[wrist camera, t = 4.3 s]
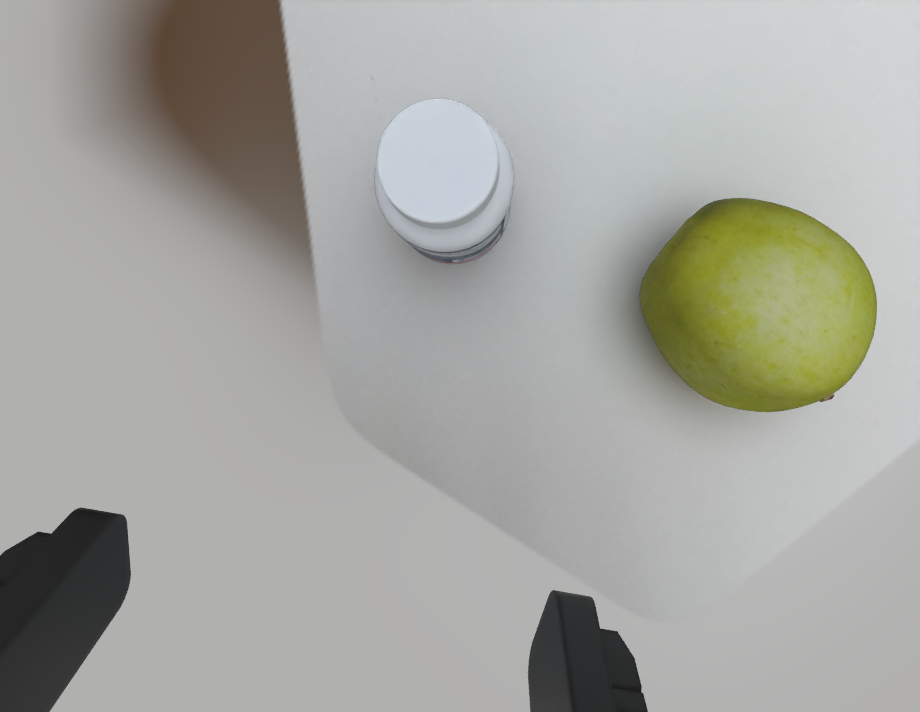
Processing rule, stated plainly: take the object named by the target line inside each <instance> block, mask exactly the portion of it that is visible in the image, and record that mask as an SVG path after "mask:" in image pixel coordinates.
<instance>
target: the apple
mask: <svg viewBox="0 0 920 712" xmlns="http://www.w3.org/2000/svg"><path fill="white" fill-rule="evenodd" d="M640 303H641V308H642V312H643V315H644V318H645V321H646V323H647V326H648V328H649V331H650V333H651V335H652V337H653V339H654V341H655V343H656V344H657V346H658V348H659V349H660V351H661V353H662V354H663V356H664V357H665V359H666V360H667V362H668V363H669V364H670V366H671V367H672V368H673V369H674V370H675V372H676V373H677V374H678V375H679V376H680V377H681V378H682V379H683V380H684V381H685V382H686V383H687V384H688V385H689V386H690V387H691V388H693V389H694V390H695V391H697V392H698V393H699V394H701V395H702V396H704V397H706V398H707V399H710V400H712V401H714V402H716V403H719V404H722V405H724V406H728V407H732V408H736V409H741V410H748V411H757V412H775V411H784V410H789V409H794V408H798V407H802V406H805V405H809V404H812V403H815V402H817V401H820V402H822V401H827V400H829V399H832V398H833V397H834V392H836V391H837V390H839V389H840V388H841V387H843V386H844V385H845V384H846V383H847V382H848V381H849V380H850V379H851V378H852V376H853V375H854V373H855V372H856V371H857V370H858V368H859V367H860V365H861V363H862V362H863V360H864V358H865V356H866V354H867V351H868V349H869V347H870V344H871V341H872V338H873V335H874V330H875V325H876V315H877V300H876V292H875V288H874V284H873V280H872V278H871V275H870V273H869V270H868V268H867V267H866V265H865V263H864V261H863V260H862V258H861V257H860V255H859V254H858V253H857V251H856V250H855V249H854V248H853V247H852V246H851V245H850V244H849V243H848V242H847V241H846V240H845V239H843V238H842V237H841V236H840V235H839V234H837V233H836V232H835V231H833V230H832V229H830V228H829V227H827V226H826V225H824V224H822V223H821V222H819V221H818V220H816V219H814V218H812V217H811V216H809V215H807V214H805V213H803V212H800V211H798V210H795V209H792V208H789V207H786V206H782V205H778V204H775V203H771V202H766V201H761V200H756V199H747V198H732V199H723V200H718V201H714V202H712V203H709V204H707V205H705V206H704V207H702V208H701V209H700V210H699V211H697V212H696V213H695V214H694V215H693V216H692V217H690V218H689V219H688V220H687V221H686V222H685V223H684V224H683V225H682V226H681V228H680V229H679V230H678V232H677V233H676V234H675V236H674V237H673V238H672V239H671V240H670V241H669V242H668V243H667V244H666V245H665V247H664V248H663V249H662V251H661V252H660V254H659V255H658V256H657V257H656V259H655V260H654V261H653V262H652V264H651V265H650V267H649V269H648V271H647V273H646V274H645V276H644V278H643V281H642V284H641V288H640Z"/></svg>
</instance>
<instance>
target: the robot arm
mask: <svg viewBox="0 0 920 712" xmlns="http://www.w3.org/2000/svg"><path fill="white" fill-rule="evenodd" d="M130 576H131V571H130V557H129V544H128V530H127V521H126V518H125V517H124V515H121V514H115V513H109V512H104V511H98V510H92V509H86V508H78V509H76V510H74V511H73V512H72V513H71V514H70V515H69V516H68V517H67V518H66V519H65V520H64V521H63V522H62V523H61V524H60V525H59V526H58V527H57V529H55V531H54V532H53V533H52V534H49V533H42V532H37V533H35V534H34V535H32V536H30V537H28V538H27V539H25V540H23V541H21V542H20V543H18V544H16V545H15V546H13V547H11V548H10V549H8V550H6V551H5V552H4V553H3V554H2V555H1V556H0V712H50V710H51V709H52V707H53V706H54V704H55V703H56V701H57V700H58V698H59V697H60V695H61V694H62V692H63V691H64V689H65V688H66V687H67V685H68V684H69V682H70V681H71V679H72V678H73V676H74V675H75V673H76V672H77V670H78V669H79V667H80V666H81V664H82V663H83V662H84V660H85V659H86V657H87V656H88V654H89V653H90V651H91V650H92V648H93V647H94V645H95V644H96V642H97V641H98V640H99V638H100V637H101V635H102V634H103V632H104V631H105V629H106V628H107V626H108V625H109V623H110V622H111V620H112V619H113V618H114V616H115V614H116V613H117V612H118V610H119V609H120V607H121V605H122V603H123V601H124V599H125V596H126V594H127V591H128V587H129V583H130ZM528 680H529V696H530V710H531V712H648V711H647V707H646V703H645V699H644V695H643V693H641V683H640V679H639V675H638V671H637V667H636V663H635V659H634V657H633V655H632V654H631V652H630V651H629V649H628V648H627V646H626V644H625V643H624V641H623V640H622V638H621V637H620V635H619V634H618V632H617V631H611V630H605V629H600V627H599V622H598V617H597V612H596V607H595V603H594V600H593V598H592V597H589V596H583V595H578V594H572V593H566V592H560V591H555V590H553V591H552V592H551V593H550V595H549V597H548V599H547V602H546V605H545V608H544V611H543V614H542V616H541V619H540V622H539V625H538V628H537V631H536V633H535V637H534V639H533V642H532V646H531V651H530V657H529V668H528Z"/></svg>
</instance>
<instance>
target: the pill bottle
mask: <svg viewBox="0 0 920 712" xmlns="http://www.w3.org/2000/svg"><path fill="white" fill-rule="evenodd" d="M374 185H375V193H376V198H377V202H378V205H379V207H380V210H381V212H382V214H383V216H384V218H385V219H386V221H387V222H388V224H389V225H390V226H391V228H392V229H393V230H394V231H395V232H396V233H397V234H398V235H399V236H400V237H402V238H403V239H404V240H405V241H406V242H408V243H409V244H410V245H411V246H412V247H413V248H414V249H415V250H417V251H418V252H419V253H421V254H422V255H424V256H426V257H428V258H430V259H432V260H435V261H438V262H441V263H449V264H457V263H464V262H468V261H472V260H474V259H476V258H479V257H480V256H482V255H484V254H485V253H487V252H488V251H489V250H490V249H491V248H492V247H493V246H494V245H495V244H496V243H497V241H498V240H499V239H500V237H501V235H502V234H503V231H504V229H505V227H506V224H507V221H508V217H509V210H510V202H511V198H512V194H513V188H514V168H513V162H512V158H511V155H510V152H509V149H508V147H507V145H506V143H505V141H504V140H503V138H502V137H501V135H500V134H499V133H498V131H497V130H496V129H495V128H494V127H493V126H492V125H491V124H490V123H489V122H487V121H486V120H485V119H483V118H482V117H481V116H480V115H479V114H477V113H476V112H475V111H474V110H472V109H471V108H469V107H468V106H466V105H464V104H462V103H459V102H456V101H453V100H449V99H440V98H439V99H428V100H424V101H420V102H417V103H414V104H412V105H410V106H408V107H407V108H405V109H404V110H402V111H401V112H400V113H399V114H397V115H396V116H395V117H394V119H393V120H392V121H391V122H390V123H389V125H388V126H387V128H386V129H385V131H384V133H383V135H382V138H381V140H380V143H379V146H378V152H377V161H376V166H375V176H374Z"/></svg>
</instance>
